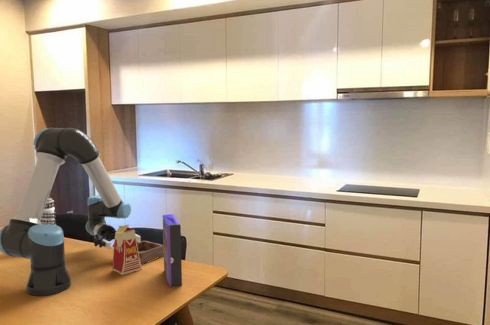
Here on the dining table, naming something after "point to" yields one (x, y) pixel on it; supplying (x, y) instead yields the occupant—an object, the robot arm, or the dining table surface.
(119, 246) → the milk carton
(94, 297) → the dining table surface
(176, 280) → the cereal box
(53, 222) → the spiral seashell
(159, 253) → the open box
